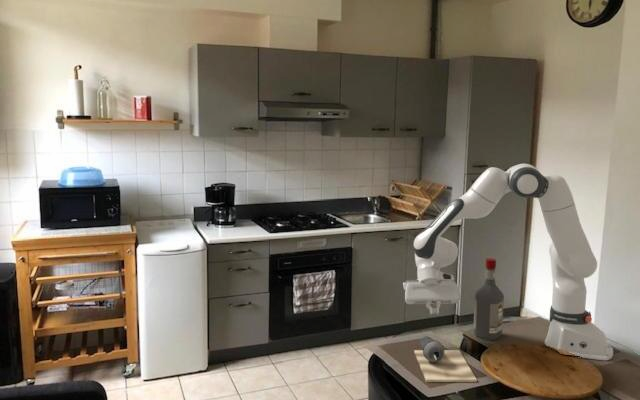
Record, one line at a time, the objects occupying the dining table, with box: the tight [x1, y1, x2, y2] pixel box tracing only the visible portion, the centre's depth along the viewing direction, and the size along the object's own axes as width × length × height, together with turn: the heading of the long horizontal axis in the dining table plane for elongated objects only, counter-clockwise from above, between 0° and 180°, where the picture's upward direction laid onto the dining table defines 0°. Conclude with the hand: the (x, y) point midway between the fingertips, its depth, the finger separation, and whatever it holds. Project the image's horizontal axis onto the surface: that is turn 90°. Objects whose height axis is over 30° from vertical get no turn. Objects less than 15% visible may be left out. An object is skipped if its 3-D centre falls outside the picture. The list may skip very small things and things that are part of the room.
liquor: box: [473, 258, 505, 341], centre depth 208 cm, size 9×9×30 cm
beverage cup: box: [419, 335, 445, 362], centre depth 188 cm, size 7×7×20 cm
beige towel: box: [413, 349, 478, 383], centre depth 185 cm, size 22×16×1 cm
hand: (434, 313), depth 200 cm, fingers closed
